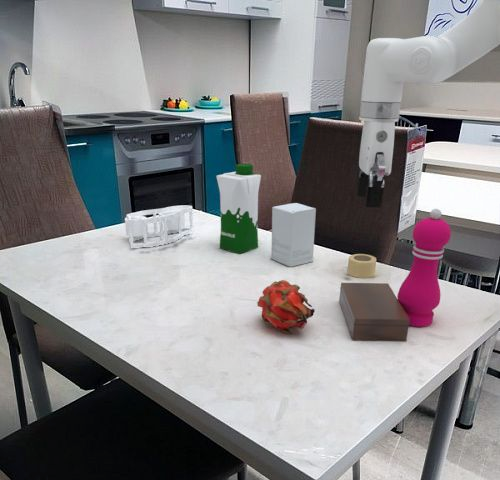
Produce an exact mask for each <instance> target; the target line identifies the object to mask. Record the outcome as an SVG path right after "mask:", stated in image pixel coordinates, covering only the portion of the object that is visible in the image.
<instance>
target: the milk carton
mask: <svg viewBox="0 0 500 480" xmlns="http://www.w3.org/2000/svg"><path fill="white" fill-rule="evenodd" d="M215 177H216V180H217V185H218V189H219V200H220V203H219V204H220V205H219V206H220V207H219V208H220V236H219V247H218V248H219V249H221V250H225V251H229V252H232V253H235V254H240V255H241V254H244V253H246V252H250V251H252V250H255V249H258V248H259V234H258V233H259V232H258V231H259V230H258V219H259V217H258V215H259V190H260V185H261V179H262V175H261V174H258V173H254V165H253V164H252V163H237V164H236V165H235V171H232V172H224V173H223V174H218V175H215Z"/></svg>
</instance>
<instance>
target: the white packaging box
mask: <svg viewBox="0 0 500 480" xmlns="http://www.w3.org/2000/svg"><path fill="white" fill-rule="evenodd" d="M316 213H317V208H316V207H313V206H312V207H311V206H308V205H305V204H301V203H298V202H293V203H286V204H281V205H276V206H272V209H271V215H272V216H271V247H270V249H271V253H270V259H271V260H273V261H275V262H278V263H280V264H282V265H284V266H287V267H288V268H290V267H291V268H292V267H296V266H300V265H305V264H309V263H313V261H314V249H315V248H314V247H315V233H316V232H315V231H316V230H315V229H316Z"/></svg>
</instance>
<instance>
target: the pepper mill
mask: <svg viewBox="0 0 500 480" xmlns="http://www.w3.org/2000/svg"><path fill="white" fill-rule="evenodd" d="M441 217H442V211H441V209H439V208H433V209H432V210H431V211H430V212H429V217H426V218H423V219H420V220H419V221H418V222H417V223H416V224H415V226H414V227H413V230H412V240H413V241H414V242H415V244H414V245H413V247H412V248H413V250H412V252H411V253H412V255H413V262H412V266H411V268H410V271H409V272H408V274H407V276H406V278H405V279H404V280H403V281H402V283H401V285H400V287H399V289H398V292H397V295H396V297H397V299H398V301H399V302H400V304H401V306H402V307H403V309H404V311H405V312H406V314H407V316H408V317H409V319H410V322H409V327H410V326H411V327H417V328H422V327H428V326H431V324H433V320H434V315H435V313H434V311H433V310H435V309H436V308H438V307H439V305H440V303H441V295H442V294H441V287H440V283H439V278H438V267H439V262H440V260H441V259H442V258H443V257H444V255H443V254H444V253H445V248H444V247H445V246H446V245H447V244H448V243H449V242H450V240H451V237H452V236H451V235H452V229H451V226H450V224H449V223H448V222H447V221H445V220H444V219H443V218H441Z"/></svg>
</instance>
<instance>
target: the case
mask: <svg viewBox="0 0 500 480" xmlns="http://www.w3.org/2000/svg"><path fill="white" fill-rule="evenodd" d="M339 289H340V291H339V299H338V301H339V305H340V308H341V311H342V314H343V317H344V320H345V323H346V326H347V330H348V332H349V335H350V338H351V341H381V342H382V341H383V342H385V341H386V342H407V340H408V338H407V337H408V334H409V333H408V332H409V328H410V325H409V322H410V319H409V317H408V316H407V314H406V312H405V311H404V309H403V307H402V306H401V304H400V302H399V301H398V298H397V295H396V294H395V292H394V290H393V289H392V287H391V286H390V284H389V283H387V282H386V283H385V282H340V287H339Z"/></svg>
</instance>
